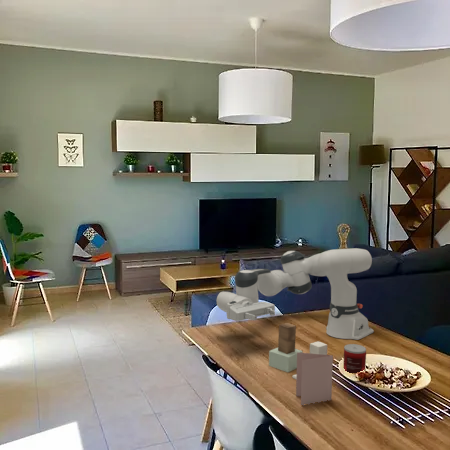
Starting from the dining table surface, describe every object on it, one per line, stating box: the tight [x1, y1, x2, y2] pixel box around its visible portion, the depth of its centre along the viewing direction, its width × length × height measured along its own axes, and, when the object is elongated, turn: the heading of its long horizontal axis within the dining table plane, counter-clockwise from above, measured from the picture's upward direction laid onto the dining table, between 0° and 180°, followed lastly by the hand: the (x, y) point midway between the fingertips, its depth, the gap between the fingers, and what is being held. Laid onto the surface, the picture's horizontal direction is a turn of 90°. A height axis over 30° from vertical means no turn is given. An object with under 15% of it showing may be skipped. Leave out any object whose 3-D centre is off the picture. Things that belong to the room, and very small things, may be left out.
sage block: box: [268, 347, 304, 373], centre depth 191 cm, size 9×9×6 cm
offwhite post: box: [309, 341, 328, 355], centre depth 186 cm, size 4×4×10 cm
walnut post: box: [277, 322, 297, 354], centre depth 190 cm, size 4×4×10 cm
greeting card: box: [295, 352, 334, 406], centre depth 161 cm, size 11×7×15 cm, turn 77°
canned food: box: [343, 343, 367, 373], centre depth 180 cm, size 8×8×11 cm
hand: (264, 315), depth 199 cm, fingers open, 8 cm apart
